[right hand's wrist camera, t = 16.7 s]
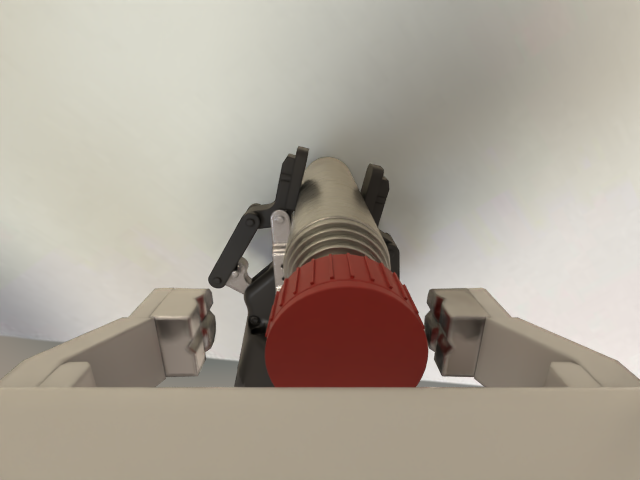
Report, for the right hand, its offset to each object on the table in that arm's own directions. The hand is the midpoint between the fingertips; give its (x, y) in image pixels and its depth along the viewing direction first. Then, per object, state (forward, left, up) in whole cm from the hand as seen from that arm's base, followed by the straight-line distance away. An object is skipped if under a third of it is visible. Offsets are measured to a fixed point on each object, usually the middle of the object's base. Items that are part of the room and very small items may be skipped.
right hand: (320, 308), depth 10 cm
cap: (0, 0, +2) cm, 2 cm away
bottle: (0, 0, -20) cm, 20 cm away
